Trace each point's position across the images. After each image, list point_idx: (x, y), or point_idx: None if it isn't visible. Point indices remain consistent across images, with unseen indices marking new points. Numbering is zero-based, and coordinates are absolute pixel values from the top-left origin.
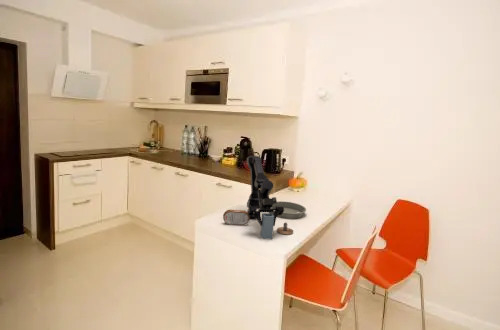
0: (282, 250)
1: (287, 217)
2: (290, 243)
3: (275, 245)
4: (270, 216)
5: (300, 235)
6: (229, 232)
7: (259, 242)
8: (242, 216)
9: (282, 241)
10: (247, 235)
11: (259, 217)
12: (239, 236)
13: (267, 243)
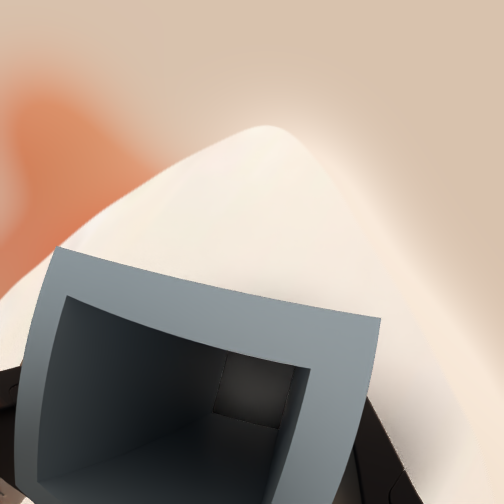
0: (253, 147)
1: None
2: (135, 220)
3: (260, 214)
4: (136, 277)
5: (21, 309)
6: (489, 496)
7: (370, 296)
8: None
9: (164, 263)
10: (408, 453)
11: (400, 499)
12: (471, 434)
13: (309, 261)
